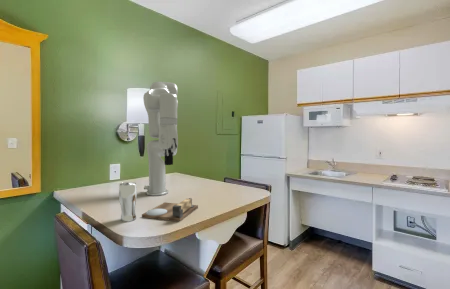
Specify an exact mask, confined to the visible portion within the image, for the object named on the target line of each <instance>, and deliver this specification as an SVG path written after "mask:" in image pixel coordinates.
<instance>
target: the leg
mask: <svg viewBox="0 0 450 289" xmlns="http://www.w3.org/2000/svg"><path fill="white" fill-rule="evenodd" d="M190 207H191V199H189V198H185V199H184V200H182V201H180V202H179V203H177V205H174V206H173V216H179V211H180V210H181V209H183V213H184V212H185V211H186V210H188V209H189V208H190Z"/></svg>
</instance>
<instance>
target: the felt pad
mask: <svg viewBox="0 0 450 289" xmlns="http://www.w3.org/2000/svg"><path fill="white" fill-rule="evenodd" d="M151 209H152V210H151ZM151 209H150V210H147V211H146V212H145V213H146V214H147V215H151V216H157V215H163V214H165V213H167V210H166V209H153V208H151Z"/></svg>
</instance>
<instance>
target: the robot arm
mask: <svg viewBox="0 0 450 289" xmlns="http://www.w3.org/2000/svg"><path fill="white" fill-rule="evenodd" d="M178 90H179V89H178V86H177V84H176V83H174V82H168V81H155V82H153V83H152V84H150V89H149V90H147V91H146V92H145V93H144V94H143V105H144V108H145V111H146V112H147V119H148V120H147V122H148V135H149V137H150V138H152V139H154V140H150V141H148V142H147V144H146V150H147V157H148V185H144V187H143V189H144V190H146V193H145V194H146V195H147V196H153V197H154V196H156V197H157V196H164V195H167V194H169V189H166V188H167V187H166V183H167V182H166V166H171V165H174V156H176V155H177V153H178V147H179V146H178V145H179V136H178V108H179V100H178V93H179V91H178ZM162 157H164V159H163V158H162Z"/></svg>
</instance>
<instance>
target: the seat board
mask: <svg viewBox="0 0 450 289" xmlns="http://www.w3.org/2000/svg"><path fill="white" fill-rule="evenodd" d="M188 199H191V207H190V208H189V209H188V210H186V211H185V212H184V213H183V209H181V210H180V211H179V216H173V206H174V205H177V204H178V203H176V202H167V201H165V202H163V203H161V204H159V205H157V206H155V207H152V208H151V209H150V210H152V209H166V210H167V213H165V214H163V215H157V216H151V215H147V214H146V212H144V213H142V214H141V218H144V219H145V218H146V219H154V220H163V221H164V220H165V221H171V222H182V221H183V220H184V219H186V218H187V217H188V216H190V215H191V214H192V213H193V212H195V210H197V209H198V208H199V205H198V204H193V199H192V197H190V198H188Z"/></svg>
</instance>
